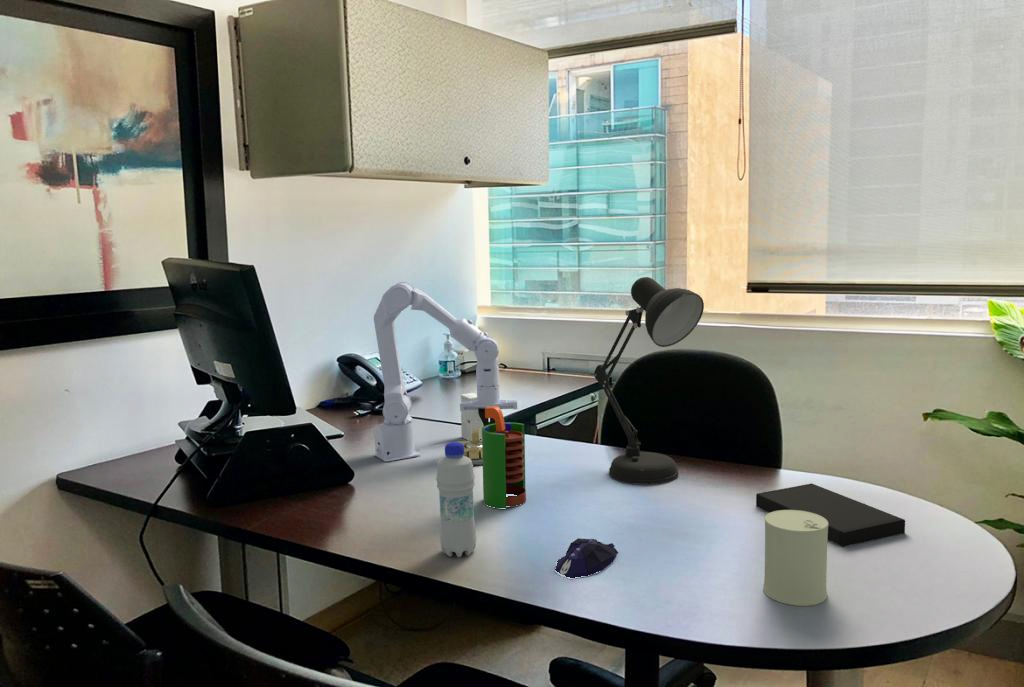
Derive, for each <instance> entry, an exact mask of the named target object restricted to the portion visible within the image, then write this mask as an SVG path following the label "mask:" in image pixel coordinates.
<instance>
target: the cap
mask: <svg viewBox="0 0 1024 687" xmlns="http://www.w3.org/2000/svg"><path fill="white" fill-rule="evenodd" d="M471 445H477V449H478V448H482V443H469V444H467V445H466V448H469V449H471ZM471 461H472V465H482V466H483V458H479V459H471Z"/></svg>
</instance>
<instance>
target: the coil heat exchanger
mask: <svg viewBox="0 0 1024 687" xmlns="http://www.w3.org/2000/svg"><path fill="white" fill-rule="evenodd" d="M485 418H489V419H490V418H493V419H494V420H495V424H490V423H489V425H486V426H484V425H483V428H482V457H483V465H482V491H483V492H482V494H483V497H482V498H483V500H482V501H483V504H484V503H485V504H486V505H488V506H491V507H495V508H494V509H496V508H506V509H507V507H506V506H516V505H520V504H522V505H524V504H525V503H526V502H527V489H526V460H525V459H526V452H525V451H526V450H525V448H526V446H525V439H526V438H525V437H526V436H525V423H520V422H505V418H504V414H503V412H502V409H500V408H499V407H497V406H491V407H487V408H485ZM506 494H514V495H517V496H508V497H506ZM525 501H526V502H525ZM524 502H525V503H524ZM523 503H524V504H523ZM485 504H484V505H485ZM486 505H485V506H486ZM488 506H487V507H488ZM520 506H521V505H520ZM491 507H490V508H491ZM516 507H517V506H516Z"/></svg>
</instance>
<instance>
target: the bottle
mask: <svg viewBox="0 0 1024 687" xmlns="http://www.w3.org/2000/svg"><path fill="white" fill-rule="evenodd" d="M475 477H476V476H475V472H474V466H472V461H471V459H470V458H468V457H465V456H464V446H463V444H462V443H460V442H458V441H452V442H448V443H446V445H445V446H444V457H443V458H440V459H439V460H438V461H437V470H436V478H435V480H436V483H437V484H436V488H437V490H438V491H439V493H438V494H439V497H438V498H439V513H440V514H439V515H440V516H439V517H440V529H439V530H440V531H439V532H440V535H439V536H440V547H441V550H442V553H444V554H446V555H447V556H448V557H453V555H454V553H455V554H456V557H457V558H461V557H462V555H463V553H465V555H466V556H470V555H471V554H472V552H473V551H475V549H476V545H477V534H476V524H475V523H476V522H475V510H474V504H475V503H474V486H475Z"/></svg>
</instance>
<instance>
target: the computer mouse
mask: <svg viewBox="0 0 1024 687" xmlns="http://www.w3.org/2000/svg"><path fill="white" fill-rule="evenodd" d="M618 554H619V551H618V550H617V549H616V548H615V544H614V543H613V542H611V543H608V544H607V543H603V542H602V541H598V540H597V539H594V538H580V537H579V538H577V539H575V540H574V541H572V542H571V543H570V544H569V546H568V548H567V551H566V553H565V555H564V556H562V557H560V558H561V559H560V558H559V559H558V561H557V560H556V561H557V562H558V563H557V566H556V569H555V568H554V569H555V570H556V571H557V572H559V573H560V574H562V575H565V576H566V577H570V578H575V577H581V576H587V577H589V576H588V575H590V576H592V575H595V574H597V573H596V572H598V573H600V572H599V571H601V572H603V571H604V570H605V569H606V568H608V567H609V566H610V565H611V564H613V563H614V561H615V560H616V559H617V555H618ZM602 570H603V571H602ZM594 573H595V574H594ZM591 574H592V575H591ZM581 578H582V577H581Z"/></svg>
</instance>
